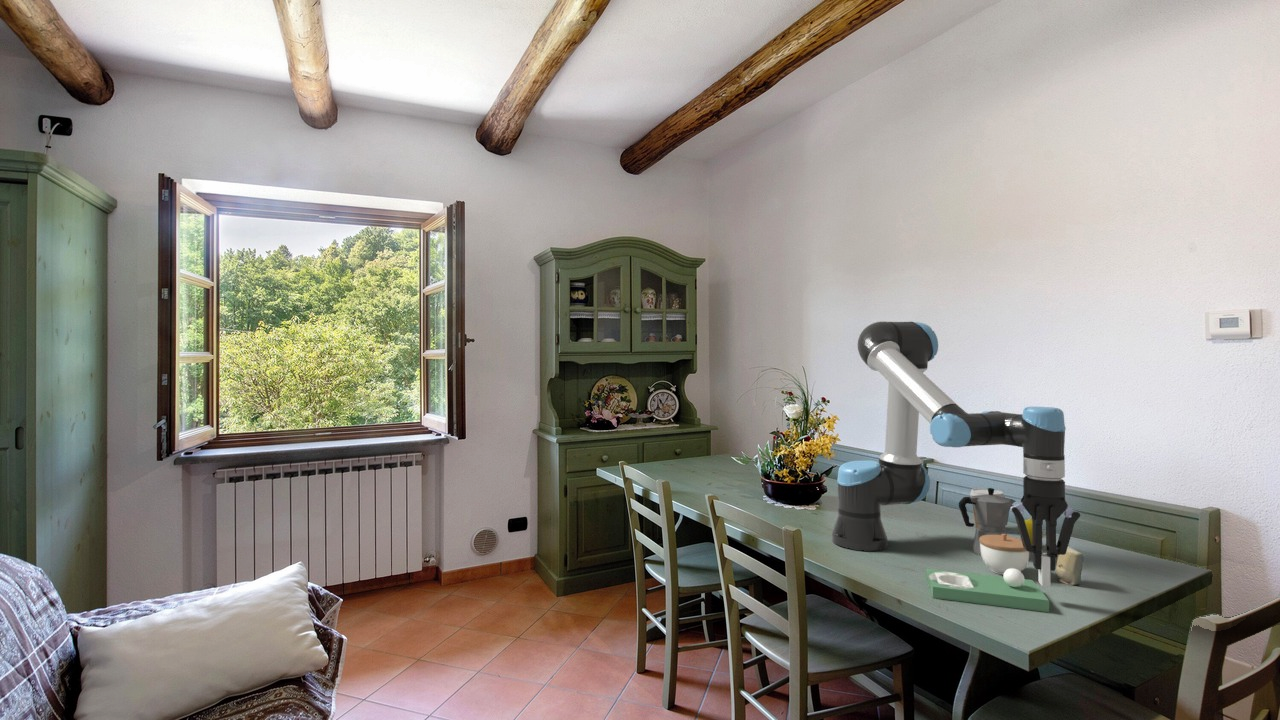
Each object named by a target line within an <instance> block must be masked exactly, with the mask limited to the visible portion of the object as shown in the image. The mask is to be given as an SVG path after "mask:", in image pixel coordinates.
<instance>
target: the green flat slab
mask: <svg viewBox="0 0 1280 720" xmlns="http://www.w3.org/2000/svg"><path fill="white" fill-rule="evenodd" d="M925 570H926V571H925V572H926V575H925V576H926V582H927V585H928V588H929V590H930V591H929V592H930V594H931V596H932V599H938V600H948V601H954V602H962V603H970V604H971V603H972V604H980V605H988V606H995V607H1004V608H1013V609H1021V610H1028V611H1029V610H1030V611H1034V612H1035V611H1037V612H1043V613H1049V612H1050V600H1049V598H1048V597H1047V596H1046V595H1045V594H1044V592H1043V591H1042V590H1041V589H1040V587H1038V585H1037V583H1035V582H1034V580H1033V579H1027V578H1024V579H1025V581H1024V584H1023V585H1022V586H1020V587H1011V586H1009V585H1008V584H1007V583H1006V582H1005V581H1004V578H1003V576H998V575H990V574H989V575H988V574H979V573H973V572H961V571H955V570H954V571H952V570H941V569H933V568H926V569H925Z"/></svg>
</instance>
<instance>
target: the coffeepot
mask: <svg viewBox="0 0 1280 720" xmlns="http://www.w3.org/2000/svg"><path fill="white" fill-rule="evenodd" d="M987 489H988V493H989V494H987V495H978V496H972V497H971V496H963V497H962V498H961V499H960V501H958V508H959V511H960V514H961V516H962V520H963V521H964V524H965V526H966V527H968V528H969V527H970V528H974V526H975V522H974V523H971V522H970V517H969V513H968V509H967V506H966V505H967V504H969V505H972V506H973V505H974V511H975V517H976V521H977V528H976V527H975V534H974V537H973V545H972V551H973V553H974V552H975V553H974V554H976V555H978V554H979V555H978V556H980V555H981V551H980V541H979V538H980V537H981V536H983V535H1002V534H1006V536H1008V533H1007V530H1006V529H1007V528H1006V526H1008V523H1009V522H1008V521H1009V517H1010V516H1009V515H1010V511H1011V510H1010V508H1009V507H1010V506H1011V505H1014V503H1016V499H1013V498H1009V497H1006V496H1005V497H999V496H996V495H993V493H994V490H995V488H992V487H988V488H987ZM974 511H973V512H974Z"/></svg>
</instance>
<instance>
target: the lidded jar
mask: <svg viewBox="0 0 1280 720" xmlns="http://www.w3.org/2000/svg"><path fill="white" fill-rule="evenodd" d="M979 541H980V551H981V559H982V560H983V562H984V564H985V565H986V566H987V567H988V568H989V570H990V571H991V572H992V573H995V574H997V575H1001V576H1003V574H1004V572H1005V571H1006V570H1007V569H1010V568H1014V569H1017V570H1019V571H1020V572H1021V573H1022V572H1023V571H1024V570H1025V569H1026V567H1027V566H1028V563H1029V558H1030V552H1029V551H1027V550H1026V549H1025V548H1024V547H1023V544H1022V540H1021V538H1018V537H1014V536H1009V535H1007V536H1006V534H1002V535H983V536H981V537H980V538H979Z"/></svg>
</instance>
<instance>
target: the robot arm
mask: <svg viewBox="0 0 1280 720" xmlns="http://www.w3.org/2000/svg"><path fill="white" fill-rule="evenodd" d="M857 351H858V355H859V356H860V358H861V360H862V361H863V362H864V363H865V364H866V365H867V367H869V368H868V369H871V370H872V371H875V372H879V374H880V375H882V376H883V377H884V379H886V380H887V382H888V389H887V390H888V392H887V404H886V405H887V409H886V423H885V424H886V425H885V426H886V427H885V441H884V442H885V443H884V444H885V445H884V446H885V447H884V452H883V453H882V454H880V455H879V457H878V461H875V460H868V459H867V460H866V459H865V460H851V461H847V462H845V463H844V462H843V464H841V465H840V466H839V468H838V471H837V478H836V479H837V508H838V509H837V512H838V513H837V517H836V520H835V524H834V526H833V528H832V531H831V532H832V533H831V540H832V543H834V544H835V545H837V546H839V547H841V546H842V548H844V547H845V549H848V548H850V550H853V551H862V550H864V551H863V552H871V551H873V552H875V551H876V552H877V551H882V550H885V549H886V548H887V547H888V536H887V534H886V533H887V532H886V531H885V527H884V524H883V521H882V517H881V509H882V508H881V507H882V506H893V505H910V504H915V503H920V501H922V500H923V499H924V498H926V496H927V495H928V493H929V490H930V486H931V479H930V475H929V474H928V470H927V469H926V467H925V466H924V465H922V464H923V463H922V459H921V458H920V457H919V456H918V454H917V453H918V437H919V436H918V433H919V419H920V418H919V417H920V415H921V416H922V417H923V418H924V419H925V420H927V422H928V423H929V424H930V425H929V433H930V435H931V437H932V440H933V441H934V442H935V443H936V444H937V445H939V446H941V447H944V448H945V447H946V448H963V447H974V446H976V447H978V446H997V445H1001V446H1002V445H1004V446H1013V447H1019V448H1022V453H1023V455H1022V459H1023V463H1022V464H1023V465H1022V466H1023V467H1022V468H1023V470H1022V471H1023V472H1022V473H1023V474H1024V475H1025V476H1024V477H1023V483H1022V484H1023V492H1022V493H1023V494H1022V495H1023V496H1022V497H1021V499H1020V502H1019V503H1017V504H1015V505H1014V504H1012V505H1011V506H1010V507H1009V508H1010V511H1011V512H1012V514H1013V516H1014V519H1015V522H1016V525H1017V529H1018V533H1019V537H1020V539H1021V540H1022V544H1023V547H1024V548H1025V549H1026V550H1027V551H1029V553H1032V565H1033V567H1034V568H1035V570H1038V576H1037V577H1038V583H1039V584H1040V585H1041V586H1042V587H1046V588H1051V572H1056V565H1057V562H1056V561H1057V560H1056V558H1058V555H1061V554H1062V555H1065V554H1066V551H1067V548H1068V546H1069V545H1070V544H1069V543H1070V540H1071V537H1072V533H1073V530H1074V527H1075V524H1076V522H1077V521H1078V520H1079V518H1080V517H1081V513H1080V512H1078V511H1076V509H1073V508H1071V507H1069V504H1068V503H1067V501H1066V481H1065V479H1063V478H1065V475H1066V469H1065V468H1066V464H1065V463H1066V462H1065V461H1066V459H1065V455H1066V454H1065V443H1066V442H1065V440H1066V430H1067V429H1066V424H1065V413H1064V411H1063V410H1061V408H1058V407H1054V406H1053V407H1052V406H1051V407H1050V406H1049V407H1048V406H1047V407H1046V406H1025V407H1024V408H1023V410H1022V413H1021V414H1020V413H1010V412H1003V411H999V410H998V411H997V410H992V411H991V410H988V411H987V410H986V411H982V412H980V413H979V412H977V413H973V412H971V413H968V412H966V411H965V410H964V409H963V408H962V407H960V406H959V405H958V404H957V403H956V402H955V401H954V400H953V399H952V398H951V397H949V396H948V395H947V394H946V392H944V390H942V389H941V388H940V387H939V386H938V385H936V383H935V382H933V381H932V379H930V378H929V377H928V376H927V375H926V374H925V373H924V372H926V371H927V370H928V365H929V362H930V361H933V360H934V358H935V356H937V355H938V352H939V340H938V336H937V334H936V332H935V331H934V330H933V329H932V327H931V326H929V325H928V324H926V323H923V322H917V321H916V322H915V321H876V322H873V323H871V324H869V325H868V326H866V327H865V328H864V329H863V330H862V331H861V333H860V334H859V337H858V339H857ZM1024 509H1025V510H1026V512H1027V513H1028V514H1029V515H1030V517H1031V518H1032V545H1031V542H1030V538H1029V534H1028V531H1027V527H1026V524H1025V520H1026V519H1025V518H1024V516H1023V515H1024V514H1025V510H1024ZM1063 514H1064V515H1063ZM1062 515H1063V516H1065V517H1064V519H1063V521H1062V524H1061V528H1060V532H1059V536H1058V539H1057V526H1058V525H1057V523H1058V519H1059V518H1060V517H1061V516H1062ZM1044 522H1045V550H1046V551H1045V552H1043V538H1042V531H1043V524H1044Z"/></svg>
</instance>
